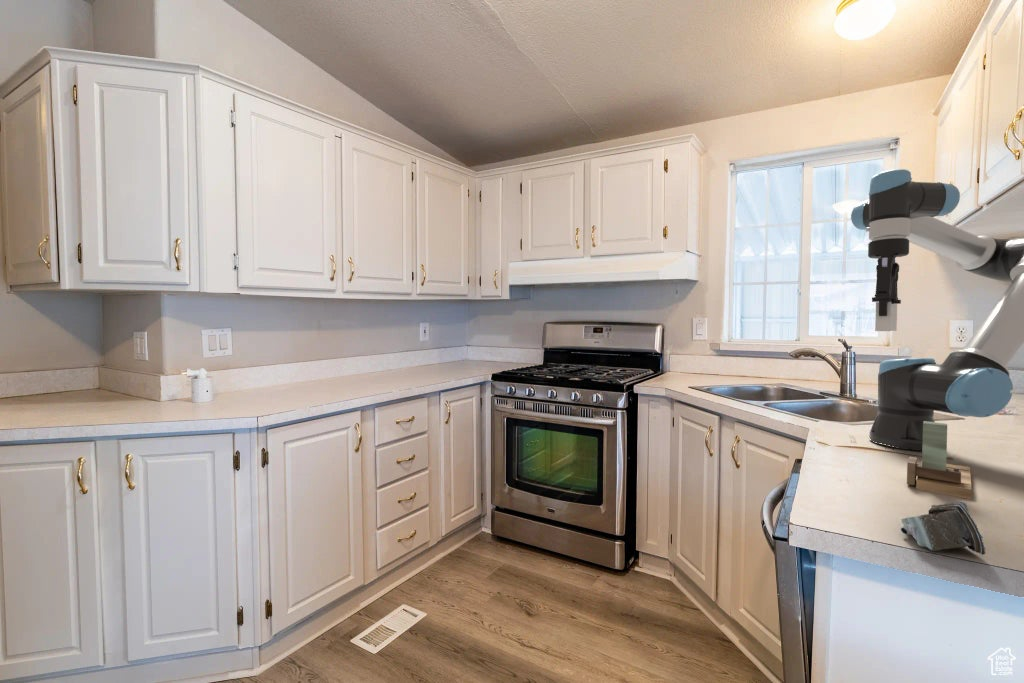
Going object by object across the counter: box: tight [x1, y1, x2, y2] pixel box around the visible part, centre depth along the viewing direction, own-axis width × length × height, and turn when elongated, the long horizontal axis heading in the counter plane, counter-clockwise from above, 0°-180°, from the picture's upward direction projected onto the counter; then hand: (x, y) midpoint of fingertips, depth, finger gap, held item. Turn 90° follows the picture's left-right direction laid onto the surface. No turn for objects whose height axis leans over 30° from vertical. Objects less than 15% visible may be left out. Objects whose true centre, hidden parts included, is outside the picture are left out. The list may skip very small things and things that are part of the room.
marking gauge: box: [906, 421, 961, 486], centre depth 97 cm, size 6×8×12 cm
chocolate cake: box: [900, 501, 986, 556], centre depth 73 cm, size 10×7×12 cm
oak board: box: [915, 461, 973, 500], centre depth 101 cm, size 20×8×2 cm, turn 137°
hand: (886, 331), depth 113 cm, fingers open, 13 cm apart
